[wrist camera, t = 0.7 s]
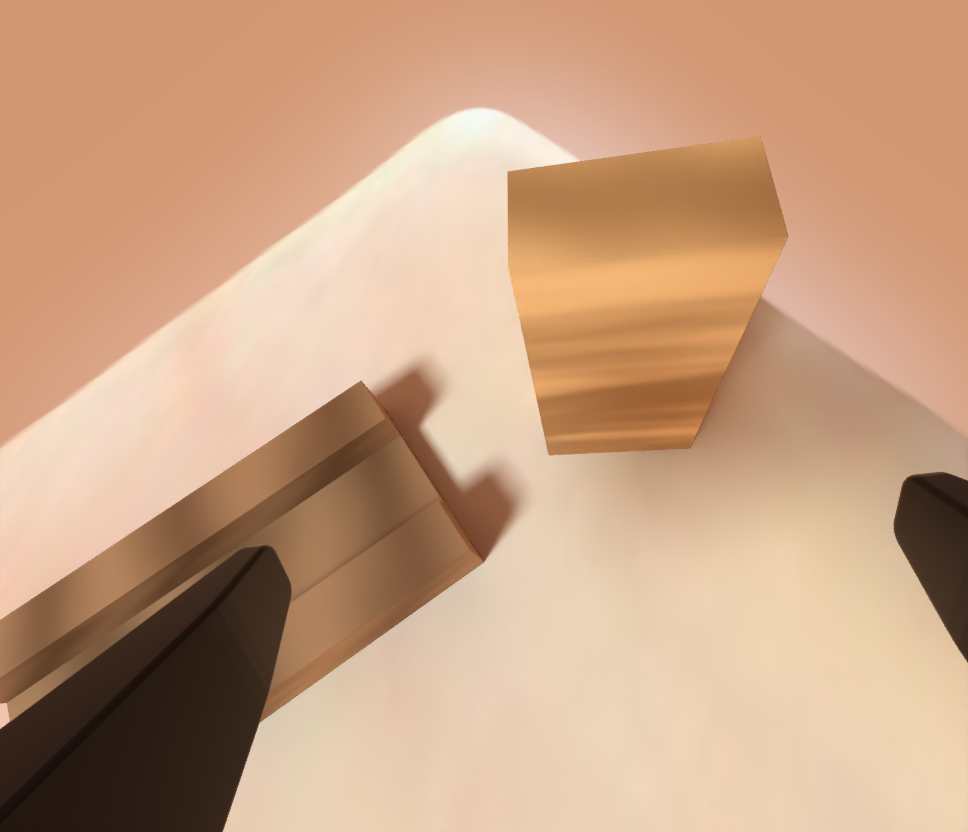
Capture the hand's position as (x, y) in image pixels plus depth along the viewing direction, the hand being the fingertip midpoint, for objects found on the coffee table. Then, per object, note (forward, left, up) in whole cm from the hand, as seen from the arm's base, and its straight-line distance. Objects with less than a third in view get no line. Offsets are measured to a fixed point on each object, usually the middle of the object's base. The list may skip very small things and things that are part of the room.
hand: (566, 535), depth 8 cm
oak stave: (+7, -5, -15) cm, 17 cm away
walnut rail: (+6, +13, -15) cm, 21 cm away
